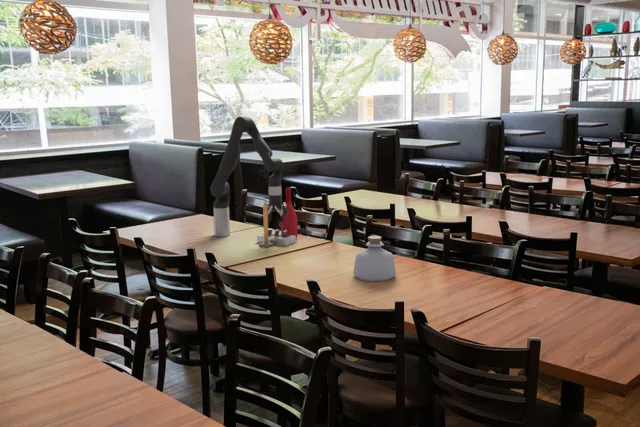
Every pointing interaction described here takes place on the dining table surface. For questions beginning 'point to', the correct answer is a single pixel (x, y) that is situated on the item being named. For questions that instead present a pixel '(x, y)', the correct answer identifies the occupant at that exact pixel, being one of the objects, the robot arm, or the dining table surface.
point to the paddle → (270, 231)
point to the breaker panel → (278, 239)
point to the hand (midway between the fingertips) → (275, 221)
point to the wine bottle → (289, 216)
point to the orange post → (265, 229)
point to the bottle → (374, 262)
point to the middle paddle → (276, 232)
